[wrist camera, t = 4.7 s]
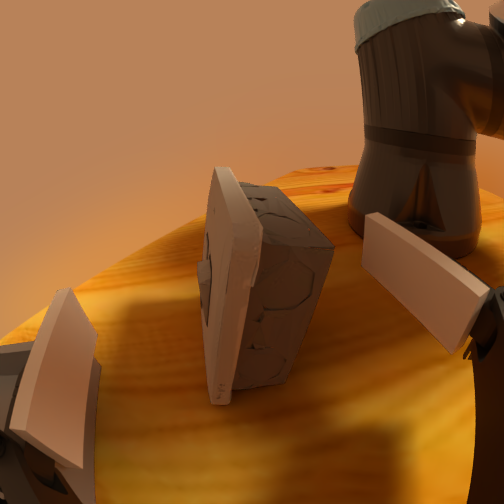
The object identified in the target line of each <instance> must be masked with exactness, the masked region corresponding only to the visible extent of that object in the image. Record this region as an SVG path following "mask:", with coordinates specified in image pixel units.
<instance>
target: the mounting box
mask: <svg viewBox="0 0 504 504" xmlns="http://www.w3.org/2000/svg"><path fill="white" fill-rule="evenodd" d="M34 342H35V341H31V342H24V343H17V344H10V345H3V346H0V430H2V431H3V432H4V428H5V423H6V418H7V414H8V410H9V406H10V402H11V398H13V396H12V394H13V391H14V388H15V384H16V381H17V378H18V375H19V373H20V371H21V370H22V368H23V367H24V365H25V364H27V361H28V358H29V355H30V352H31V349H32V347H33V344H34ZM100 372H101V366H100V364H99V363H98V362H97V360H96V359H95V358H94V356H93V361H92V367H91V373H90V380H89V387H88V395H87V403H86V413H85V425H84V441H83V469H79V468H69V467H65V466H63V465H61V464H60V463H58V462H56V461H55V467H56V468H57V469H58V470H59V471H60V472H61V473H62V475H63V476H64V478H65V479H66V481H67V482H68V484H69V485H70V487H71V488H72V490H73V491H74V492H75V494H76V495H77V497H78V498H79V499H80V501H81V502H82V503H83V504H96V501H95V483H94V439H95V420H96V407H97V397H98V388H99V380H100ZM0 498H1V499H4V494H3V493H2V492H0Z"/></svg>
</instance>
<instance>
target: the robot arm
mask: <svg viewBox="0 0 504 504" xmlns="http://www.w3.org/2000/svg"><path fill="white" fill-rule="evenodd" d="M489 17H490V18H489V19H490V24H489V26H485V25H481V24H477V23H473V22H470V21H467V20H465V14H464V12H463V11H462V10H461V8H460V6H459V5H458V4H457V3H456V2H454V1H453V0H370V1H368V2H366V3H365V4H363V5H362V6H361V7H360V8H359V9H358V10H357V12H356V14H355V16H354V28H355V38H356V39H355V40H356V46H355V53H356V54H357V55H358V60H359V67H360V76H361V85H362V96H363V112H364V131H365V147H364V151H363V154H362V157H361V161H360V164H359V167H358V171H357V174H356V178H355V181H354V185H353V189H352V190H351V192H350V194H349V198H348V222H349V224H350V226H351V227H352V228H353V230H354V231H355V232H356V233H357V234H359V235H360V236H361V237H363V238H364V241H363V253H362V263H361V266H362V267H363V268H364V269H365V270H366V271H367V272H368V273H370V274H371V275H372V276H373V277H374V278H375V279H376V280H377V281H378V282H379V283H380V284H381V285H383V286H384V287H385V288H386V289H387V290H388V291H389V292H390V293H391V294H392V295H393V296H394V297H395V298H396V299H397V300H398V301H399V302H400V303H401V304H402V305H403V306H404V307H406V308H407V309H408V310H409V311H410V312H411V313H412V314H413V315H414V316H415V317H416V318H417V319H418V320H419V321H420V322H421V323H422V324H423V325H424V326H425V327H426V328H427V330H428V331H429V332H430V333H431V334H432V335H433V336H434V337H435V338H436V339H437V340H438V341H439V342H440V343H441V344H442V345H443V346H444V347H445V348H446V349H447V351H448V352H449V353H450V354H451V355H452V354H453V353H455V352H456V351H457V350H458V349H460V348H461V347H462V346H463V345H464V343H465V341H466V339H467V337H468V336H469V335H470V336H471V337H472V338H473V339H472V340H471V342H470V344H469V346H468V348H467V349H466V351H465V353H464V354H463V359H466V357H467V355H468V354H469V352H470V351H471V354H470V356H469V358H468V360H472V363H473V373H474V385H475V407H476V427H475V448H474V460H473V469H472V476H471V483H470V489H469V494H468V499H467V504H504V286H502V287H498V288H496V290H494V289H493V288H492V287H490V286H489V285H488V284H487V283H485V282H484V281H483V280H481V279H480V278H479V277H478V276H476V275H475V274H474V273H472V272H471V271H470V270H469V271H468V269H467V268H466V267H464V266H463V265H462V266H461V264H460V263H459V262H457V261H456V260H454V259H455V258H459V257H463V256H465V255H467V254H469V253H470V252H472V251H473V250H474V249H475V247H476V245H477V242H478V238H479V234H480V230H481V223H482V218H481V206H480V196H479V188H478V181H477V175H476V169H475V149H476V136H477V133H478V134H483V135H487V136H490V137H495V138H498V139H501V140H504V0H501V1H499V2H497V3H495V4H494V5H492V6H490V7H489ZM97 335H98V334H97V333H96V331H95V330H94V328H93V326H92V325H91V323H90V321H89V320H88V318H87V316H86V314H85V313H84V311H83V309H82V307H81V306H80V304H79V302H78V300H77V298H76V296H75V295H74V293H73V291H72V289H71V288H70V287H69V288H65V289H61V290H57V292H56V294H55V296H54V298H53V300H52V302H51V304H50V306H49V308H48V311H47V313H46V315H45V317H44V320H43V322H42V324H41V327H40V329H39V331H38V334H37V336H36V339H35V342H34V344H33V347H32V349H31V352H30V355H29V358H28V361H27V364H25V365H24V367H23V368H22V370H21V371H20V373H19V375H18V378H17V381H16V384H15V388H14V391H13V394H12V396H13V398H11V402H10V406H9V410H8V414H7V418H6V423H5V428H4V432H3V431H2V430H0V492H2V493H3V494H4V499H1V498H0V504H83V503H82V502H81V501H80V499H79V498H78V497H77V495H76V494H75V492H74V491H73V490H72V488H71V487H70V485H69V484H68V482H67V481H66V479H65V478H64V476H63V475H62V473H61V472H60V471H59V470H58V469H57V468H56V467H55V461H56V462H58V463H60V464H61V465H63V466H65V467H69V468H79V469H83V441H84V425H85V413H86V403H87V395H88V387H89V380H90V373H91V367H92V361H93V356H94V350H95V345H96V340H97Z"/></svg>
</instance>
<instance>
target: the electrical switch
mask: <svg viewBox="0 0 504 504" xmlns="http://www.w3.org/2000/svg"><path fill="white" fill-rule="evenodd" d="M276 197H277V198H276ZM308 228H309V229H310V230H309V229H308ZM309 247H311V248H309ZM317 248H321V249H317ZM334 248H335V246H334V245H333V244H332V243H331V242H330V241H329V240H328V239H327V237H326V236H325V235H324V234H323V233H322V232H321V231H320V230H319V229H318V228H317V227H316V226H315V225H314V224H313V223H312V222H311V221H310V220H309V219H308V218H307V217H306V216H305V214H304V213H303V212H302V211H301V210H300V209H299V208H298V207H297V206H296V205H295V204H294V203H293V202H292V201H291V200H290V199H289V198H288V197H287V196H286V195H285V194H284V193H283V192H282V191H281V190H280V189H279V188H278V187H272V186H257V185H253V184H250V183H244V182H238V181H237V180H236V178H235V176H234V174H233V173H232V171H231V169H230V167H215V168H214V172H213V176H212V181H211V187H210V192H209V198H208V205H207V215H206V225H205V235H204V246H203V258H202V261H199V262H198V263H197V275H198V282H199V288H200V302H201V317H202V330H203V343H204V354H205V365H206V375H207V384H208V393H209V397H210V402H211V404H218V405H228V404H229V402H230V401H231V394H232V391H231V389H252V388H255V387H259V386H265V385H275V384H284V383H285V381H286V379H287V377H288V374H289V372H290V370H291V367H292V365H293V363H294V360H295V358H296V355H297V353H298V351H299V348H300V346H301V343H302V341H303V338H304V336H305V333H306V331H307V328H308V325H309V323H310V320H311V318H312V315H313V312H314V310H315V307H316V304H317V301H318V299H319V296H320V293H321V290H322V287H323V284H324V281H325V279H326V276H327V273H328V270H329V267H330V264H331V261H332V257H333V254H334V251H333V250H334ZM325 249H330V250H325ZM307 296H308V297H307ZM306 297H307V298H306ZM264 307H265V308H264ZM284 309H285V310H284ZM271 347H272V348H271Z"/></svg>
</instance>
